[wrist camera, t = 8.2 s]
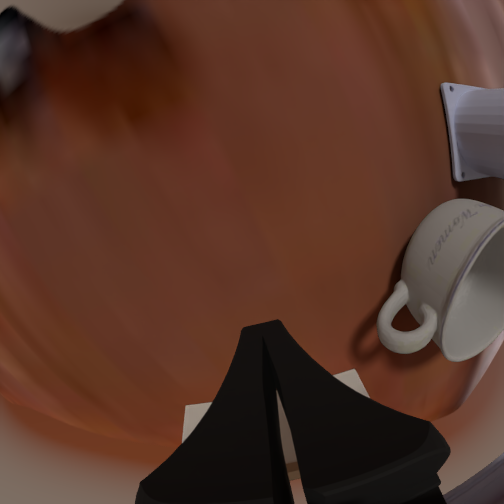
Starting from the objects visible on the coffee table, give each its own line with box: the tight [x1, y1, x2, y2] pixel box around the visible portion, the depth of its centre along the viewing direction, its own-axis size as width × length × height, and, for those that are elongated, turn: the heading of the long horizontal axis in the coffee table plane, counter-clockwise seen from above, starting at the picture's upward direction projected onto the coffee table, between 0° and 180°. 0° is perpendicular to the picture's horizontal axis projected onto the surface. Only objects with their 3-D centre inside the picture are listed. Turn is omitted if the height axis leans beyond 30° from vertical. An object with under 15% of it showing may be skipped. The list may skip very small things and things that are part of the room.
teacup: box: [377, 199, 504, 362], centre depth 16 cm, size 14×11×8 cm
